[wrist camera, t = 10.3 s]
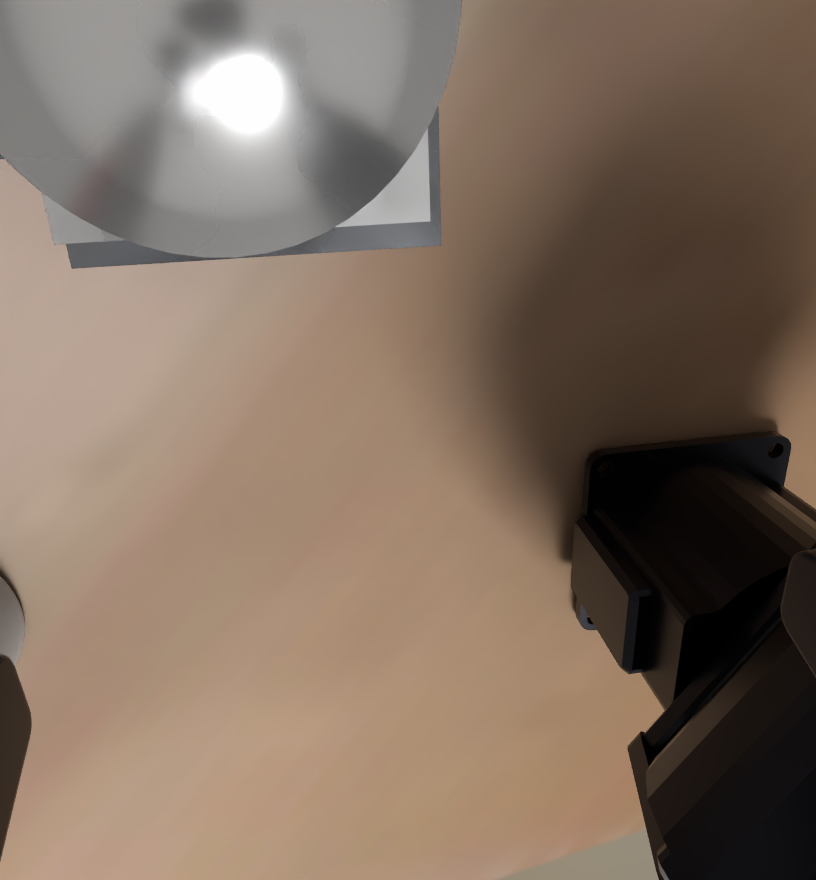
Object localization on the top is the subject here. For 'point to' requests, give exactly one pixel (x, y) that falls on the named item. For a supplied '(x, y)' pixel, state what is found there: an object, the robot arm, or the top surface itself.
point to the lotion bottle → (10, 623)
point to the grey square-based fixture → (223, 116)
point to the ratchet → (324, 243)
